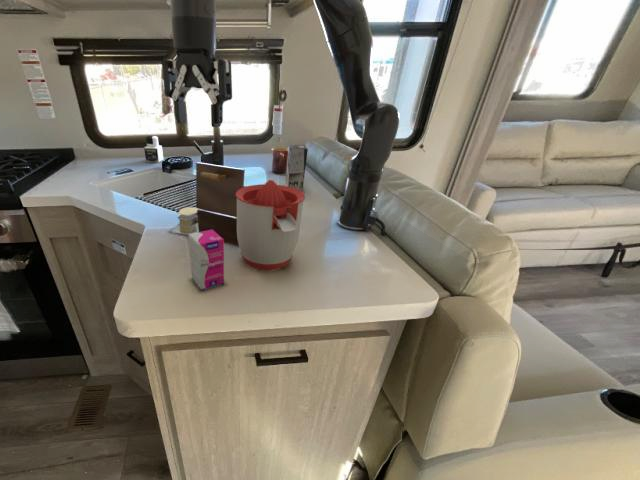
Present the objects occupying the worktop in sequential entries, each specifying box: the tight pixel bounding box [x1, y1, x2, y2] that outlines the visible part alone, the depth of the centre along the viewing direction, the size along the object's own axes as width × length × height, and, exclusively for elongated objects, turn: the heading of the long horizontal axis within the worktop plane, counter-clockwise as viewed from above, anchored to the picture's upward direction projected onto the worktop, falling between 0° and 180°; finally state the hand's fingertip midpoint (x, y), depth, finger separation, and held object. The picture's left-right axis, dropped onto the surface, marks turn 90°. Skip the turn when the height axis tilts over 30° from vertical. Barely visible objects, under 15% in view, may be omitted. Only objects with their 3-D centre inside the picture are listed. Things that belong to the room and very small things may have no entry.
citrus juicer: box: [236, 179, 306, 271], centre depth 76 cm, size 16×17×20 cm
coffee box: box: [284, 144, 309, 192], centre depth 129 cm, size 9×6×16 cm
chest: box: [197, 209, 239, 247], centre depth 94 cm, size 11×14×8 cm
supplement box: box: [188, 230, 225, 292], centre depth 70 cm, size 6×6×12 cm
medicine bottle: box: [143, 135, 164, 164], centre depth 169 cm, size 7×7×12 cm
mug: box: [271, 146, 289, 174], centre depth 152 cm, size 12×9×10 cm
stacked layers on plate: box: [169, 206, 199, 236], centre depth 97 cm, size 10×9×6 cm
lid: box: [195, 162, 246, 217], centre depth 83 cm, size 12×14×5 cm
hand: (198, 124), depth 64 cm, fingers open, 8 cm apart
